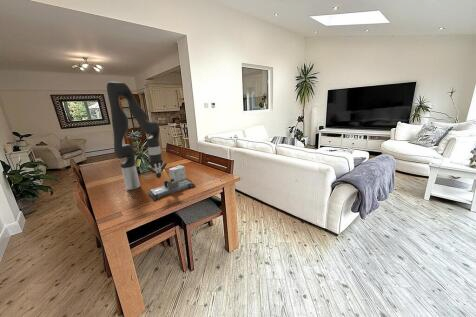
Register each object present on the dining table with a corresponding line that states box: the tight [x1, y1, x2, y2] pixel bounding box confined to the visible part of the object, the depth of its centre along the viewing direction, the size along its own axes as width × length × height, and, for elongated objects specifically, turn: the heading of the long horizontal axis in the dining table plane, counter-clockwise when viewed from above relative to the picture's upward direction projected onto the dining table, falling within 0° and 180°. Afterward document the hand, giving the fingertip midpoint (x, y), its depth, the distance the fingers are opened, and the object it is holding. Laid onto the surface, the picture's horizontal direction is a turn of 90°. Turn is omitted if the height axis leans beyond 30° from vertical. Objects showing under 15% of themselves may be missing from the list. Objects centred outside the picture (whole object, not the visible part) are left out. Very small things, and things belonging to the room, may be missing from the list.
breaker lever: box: [161, 169, 171, 183], centre depth 133 cm, size 4×2×13 cm, turn 39°
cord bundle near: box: [147, 190, 161, 201], centre depth 129 cm, size 15×4×2 cm, turn 39°
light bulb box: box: [168, 164, 187, 181], centre depth 153 cm, size 11×7×11 cm, turn 145°
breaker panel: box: [149, 177, 192, 198], centre depth 136 cm, size 10×26×7 cm, turn 129°
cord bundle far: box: [187, 179, 196, 189], centre depth 144 cm, size 15×4×2 cm, turn 39°
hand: (158, 177), depth 129 cm, fingers closed
